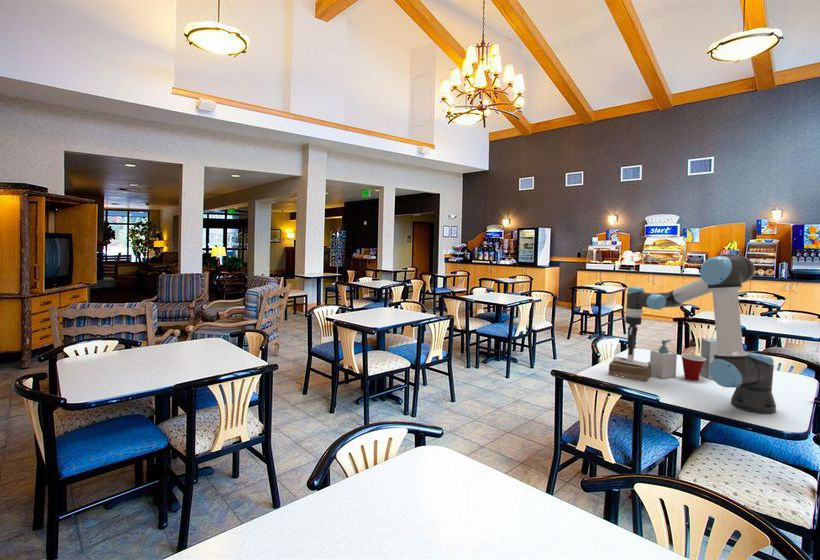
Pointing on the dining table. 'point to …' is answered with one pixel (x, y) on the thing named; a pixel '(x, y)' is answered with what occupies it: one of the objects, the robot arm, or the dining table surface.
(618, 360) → the steel hasp
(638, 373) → the walnut box
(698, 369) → the plastic cup
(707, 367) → the hard drive box
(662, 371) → the soap bottle
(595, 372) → the dining table surface
